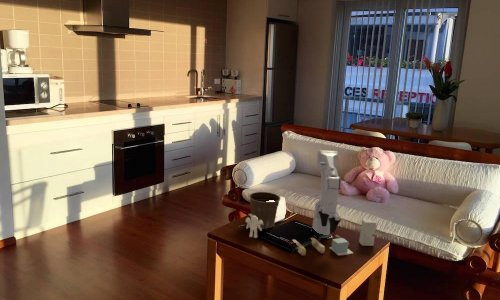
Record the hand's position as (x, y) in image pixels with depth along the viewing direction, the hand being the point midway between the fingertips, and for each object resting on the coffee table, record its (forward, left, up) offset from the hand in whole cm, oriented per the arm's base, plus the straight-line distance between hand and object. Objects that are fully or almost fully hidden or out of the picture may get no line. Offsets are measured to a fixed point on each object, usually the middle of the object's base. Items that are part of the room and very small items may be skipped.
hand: (328, 229), depth 210 cm
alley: (-1, -9, -10) cm, 13 cm away
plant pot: (-33, -19, -10) cm, 39 cm away
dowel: (-5, +12, -10) cm, 16 cm away
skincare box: (0, +23, -10) cm, 25 cm away
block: (+4, +5, -10) cm, 11 cm away
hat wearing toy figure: (-21, -29, -10) cm, 37 cm away
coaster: (+4, +6, -10) cm, 12 cm away
